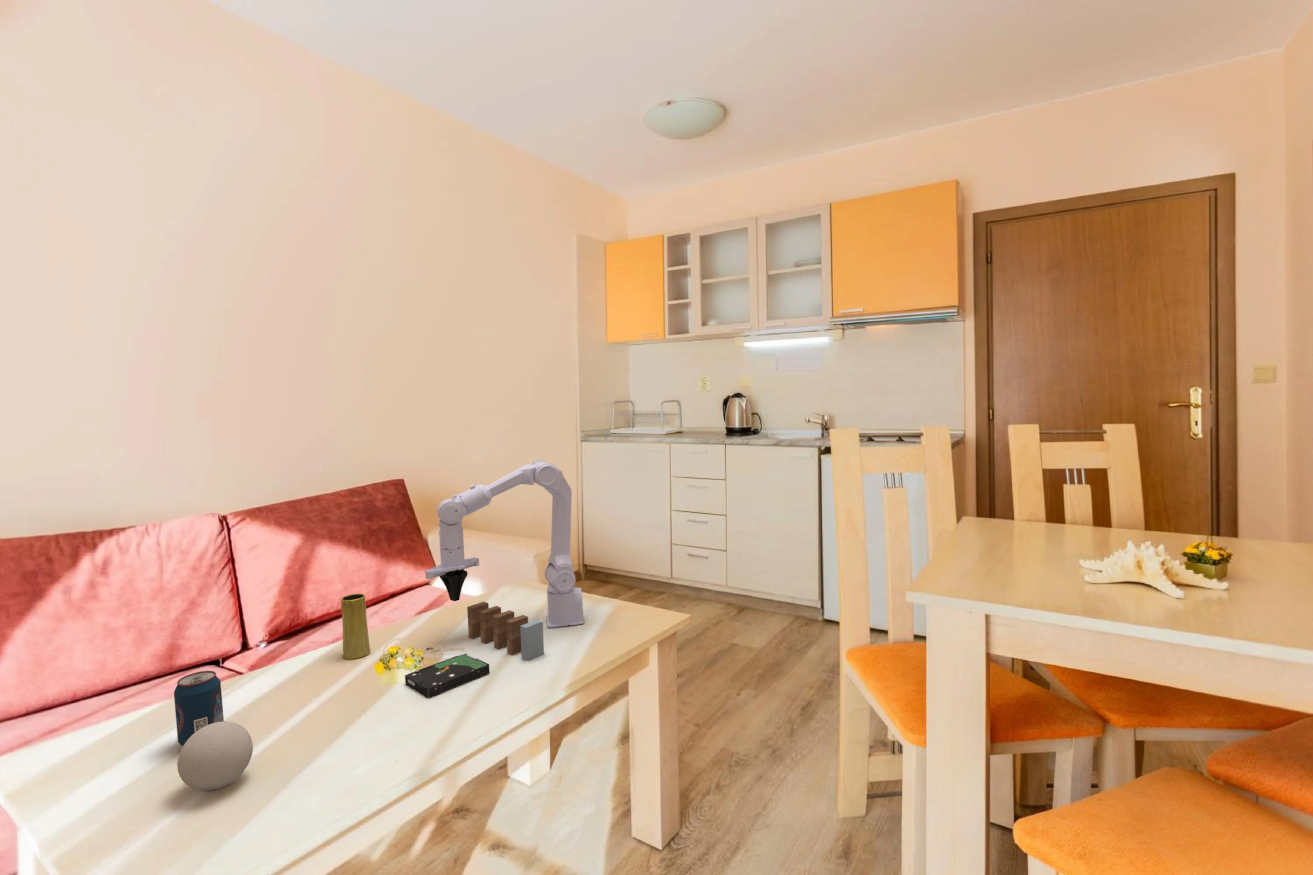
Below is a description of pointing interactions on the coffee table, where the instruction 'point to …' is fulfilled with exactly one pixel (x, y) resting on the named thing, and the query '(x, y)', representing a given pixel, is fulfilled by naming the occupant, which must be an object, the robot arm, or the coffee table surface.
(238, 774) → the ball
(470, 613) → the pushed domino
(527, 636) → the domino
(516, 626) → the domino
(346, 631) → the vase
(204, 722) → the soda can
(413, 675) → the disk drive
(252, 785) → the coffee table surface
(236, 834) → the coffee table surface
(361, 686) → the coffee table surface
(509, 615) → the brown wooden block
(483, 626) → the domino
